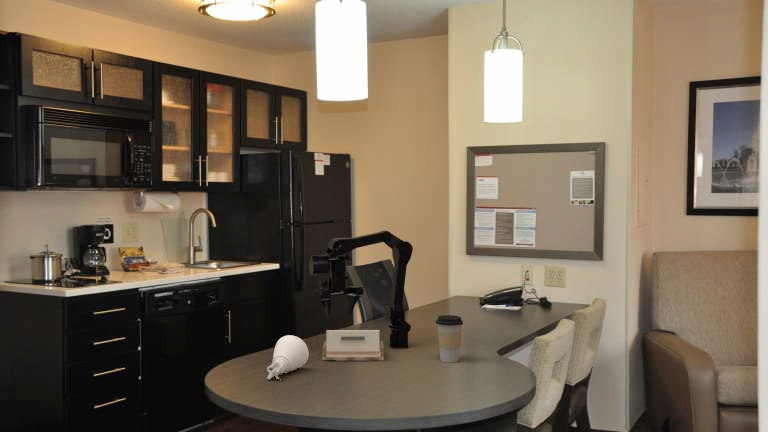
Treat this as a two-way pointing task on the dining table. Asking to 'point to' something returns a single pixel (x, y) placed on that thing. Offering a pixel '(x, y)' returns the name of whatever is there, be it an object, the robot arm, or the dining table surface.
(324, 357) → the tray
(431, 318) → the dining table surface
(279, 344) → the rocket engine
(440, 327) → the coffee cup
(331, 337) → the panel
